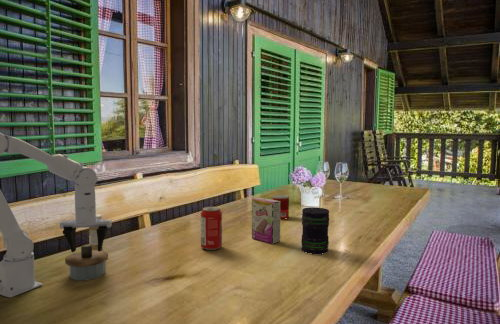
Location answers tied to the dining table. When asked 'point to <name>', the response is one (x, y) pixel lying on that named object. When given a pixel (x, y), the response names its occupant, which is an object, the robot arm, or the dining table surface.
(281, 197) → the canned food
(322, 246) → the storage jar
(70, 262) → the lid
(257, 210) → the candy bar box
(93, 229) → the sprinkles bottle
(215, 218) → the soda can
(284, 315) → the dining table surface
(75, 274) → the bowl
